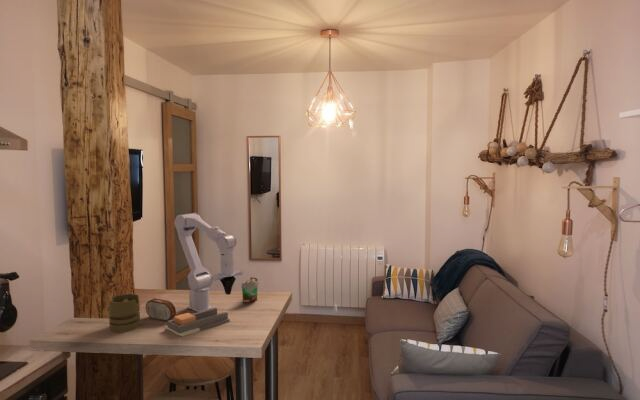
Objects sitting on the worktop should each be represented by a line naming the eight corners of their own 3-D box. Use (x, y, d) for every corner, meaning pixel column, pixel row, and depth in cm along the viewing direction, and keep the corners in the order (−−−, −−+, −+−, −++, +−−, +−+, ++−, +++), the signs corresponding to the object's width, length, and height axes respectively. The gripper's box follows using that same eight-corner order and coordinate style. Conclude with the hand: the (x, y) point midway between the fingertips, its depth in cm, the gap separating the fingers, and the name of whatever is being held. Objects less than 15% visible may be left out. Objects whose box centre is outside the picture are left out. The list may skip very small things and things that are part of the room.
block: (174, 326, 169) (174, 316, 169) (188, 322, 174) (187, 312, 173) (182, 330, 165) (181, 320, 165) (195, 325, 169) (195, 316, 169)
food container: (254, 305, 198) (253, 284, 197) (241, 304, 199) (241, 283, 199) (262, 297, 210) (262, 277, 209) (251, 296, 211) (250, 276, 211)
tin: (176, 320, 179) (176, 301, 178) (171, 323, 176) (170, 303, 175) (150, 315, 185) (149, 296, 185) (144, 317, 182) (143, 298, 182)
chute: (166, 328, 170) (165, 320, 170) (213, 314, 186) (213, 306, 186) (181, 336, 162) (180, 327, 161) (229, 321, 178) (229, 313, 177)
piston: (141, 293, 178) (136, 301, 167) (142, 320, 179) (137, 331, 168) (112, 295, 175) (104, 303, 164) (113, 323, 176) (106, 333, 165)
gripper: (217, 267, 175) (218, 299, 177) (246, 261, 186) (247, 292, 187) (208, 264, 180) (209, 296, 181) (237, 259, 191) (237, 288, 192)
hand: (228, 293), depth 185 cm, fingers closed
